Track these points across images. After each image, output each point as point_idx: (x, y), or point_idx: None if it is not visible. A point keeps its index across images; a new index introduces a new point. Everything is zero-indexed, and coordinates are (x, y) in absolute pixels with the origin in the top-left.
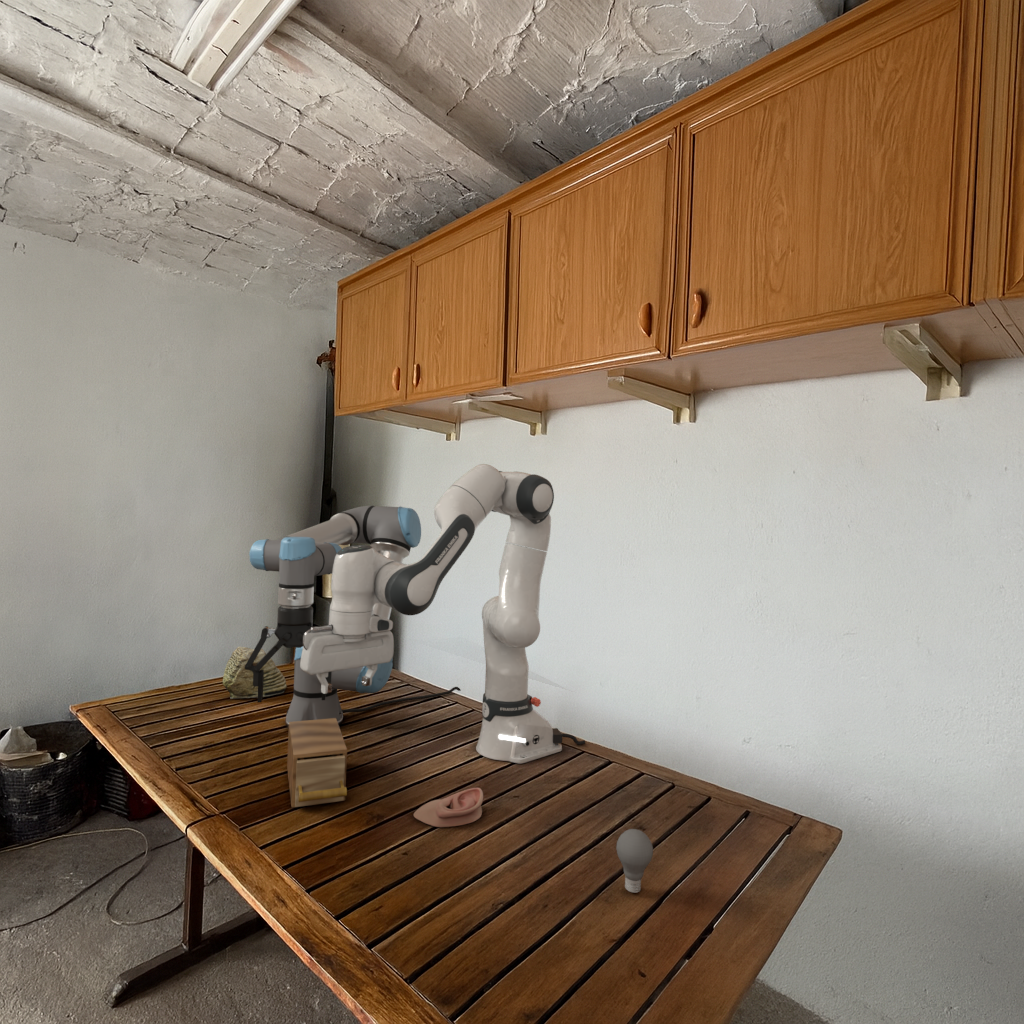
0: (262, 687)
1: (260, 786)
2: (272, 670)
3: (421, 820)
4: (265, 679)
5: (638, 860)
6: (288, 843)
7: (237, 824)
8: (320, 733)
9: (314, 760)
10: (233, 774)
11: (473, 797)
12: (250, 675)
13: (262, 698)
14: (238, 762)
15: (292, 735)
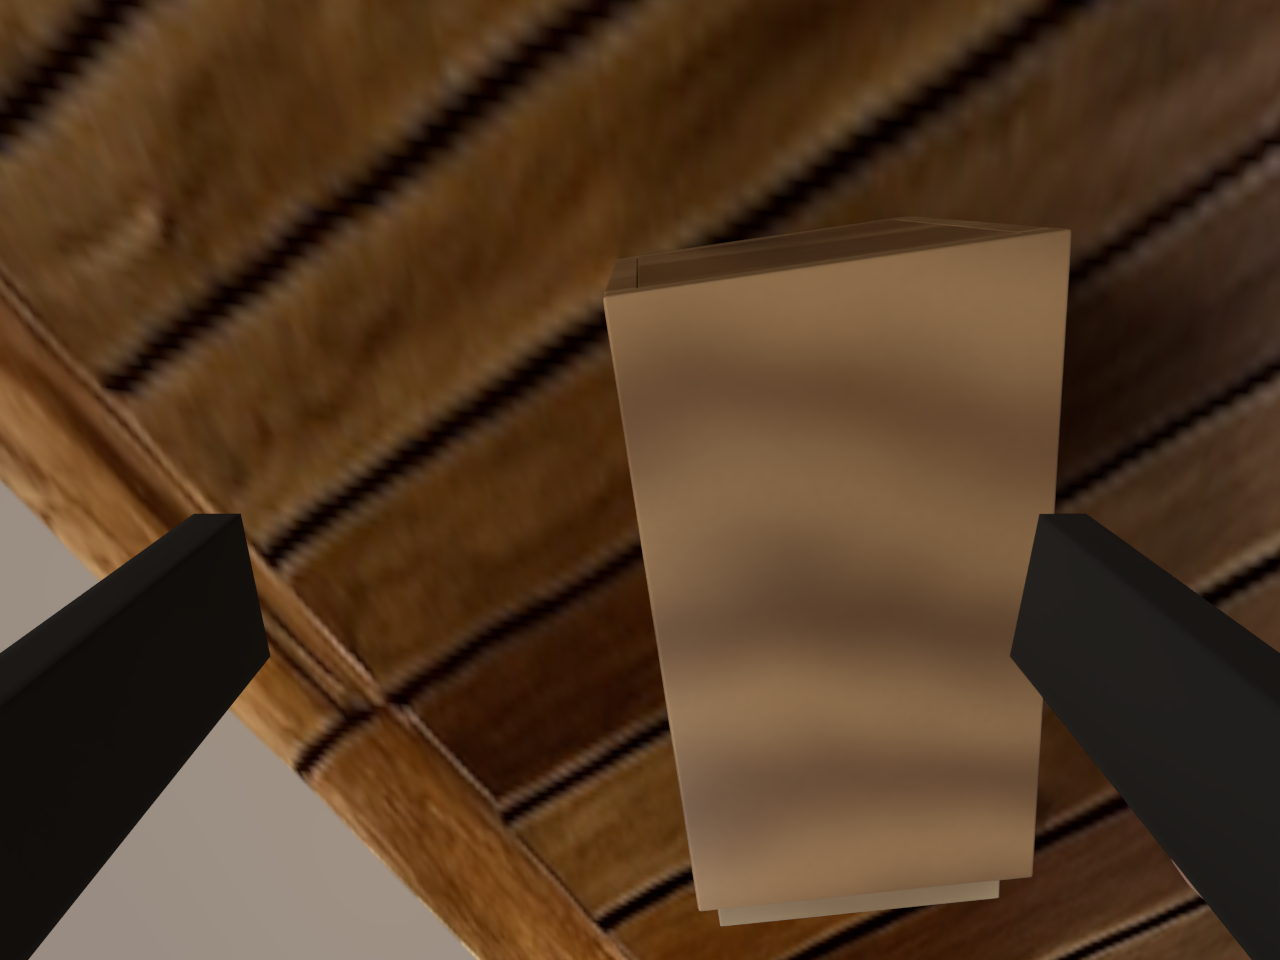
0: (150, 684)
1: (504, 479)
2: None
3: (1182, 874)
4: None
5: None
6: (689, 915)
7: (484, 788)
8: (884, 610)
9: (818, 911)
10: (313, 303)
11: None
12: None
13: (242, 548)
14: (282, 108)
15: (665, 623)
